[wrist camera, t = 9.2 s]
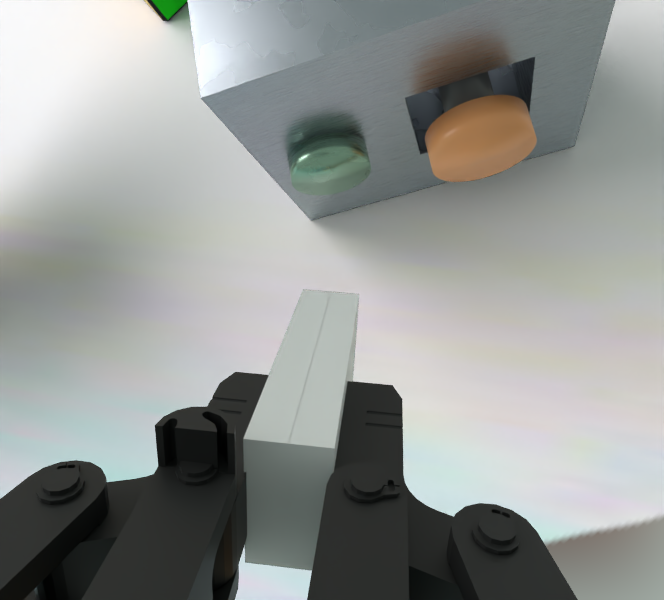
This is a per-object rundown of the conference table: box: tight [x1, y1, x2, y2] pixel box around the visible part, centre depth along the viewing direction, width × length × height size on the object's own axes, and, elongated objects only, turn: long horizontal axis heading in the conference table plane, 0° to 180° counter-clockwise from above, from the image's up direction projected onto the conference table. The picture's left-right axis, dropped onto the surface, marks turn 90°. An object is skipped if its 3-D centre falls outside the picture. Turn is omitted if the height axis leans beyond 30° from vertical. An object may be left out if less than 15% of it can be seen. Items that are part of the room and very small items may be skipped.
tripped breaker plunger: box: [425, 72, 537, 182], centre depth 35 cm, size 13×6×6 cm, turn 10°
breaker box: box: [187, 0, 615, 220], centre depth 36 cm, size 12×20×18 cm, turn 100°
